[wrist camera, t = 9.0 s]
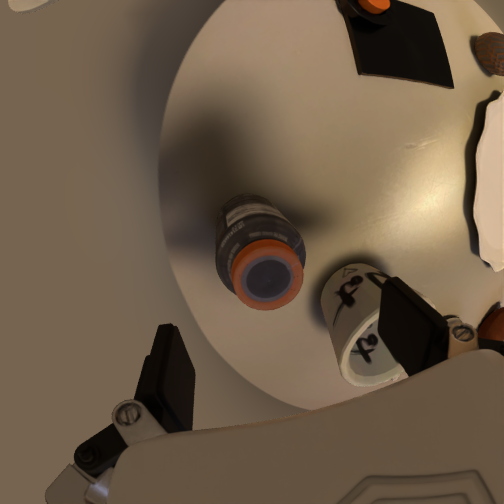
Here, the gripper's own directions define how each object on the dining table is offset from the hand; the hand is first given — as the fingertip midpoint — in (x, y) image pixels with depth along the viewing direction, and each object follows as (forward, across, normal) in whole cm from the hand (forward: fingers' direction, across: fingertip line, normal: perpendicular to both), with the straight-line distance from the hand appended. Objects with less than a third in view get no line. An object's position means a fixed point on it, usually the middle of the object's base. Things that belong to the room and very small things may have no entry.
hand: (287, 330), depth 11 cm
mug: (+16, -11, +12) cm, 22 cm away
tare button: (+13, -15, -22) cm, 30 cm away
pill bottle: (+15, 0, 0) cm, 15 cm away
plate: (+16, -43, -2) cm, 46 cm away
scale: (+15, -20, -20) cm, 32 cm away
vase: (+15, -38, -22) cm, 46 cm away
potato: (+16, -45, +26) cm, 54 cm away
